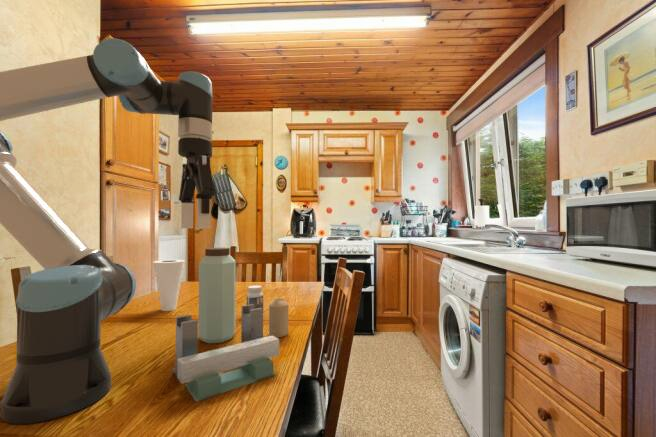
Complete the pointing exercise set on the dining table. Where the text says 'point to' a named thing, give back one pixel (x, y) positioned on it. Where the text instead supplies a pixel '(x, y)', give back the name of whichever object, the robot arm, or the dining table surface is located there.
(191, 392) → the rest
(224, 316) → the water bottle
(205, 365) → the rail
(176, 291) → the cup
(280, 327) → the candle
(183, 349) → the stand
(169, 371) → the dining table surface
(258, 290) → the pill bottle
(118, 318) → the dining table surface
